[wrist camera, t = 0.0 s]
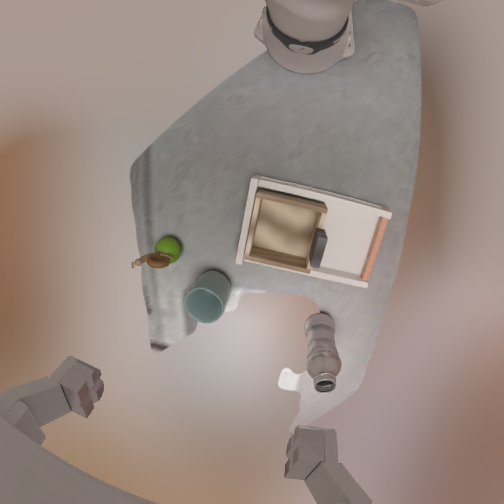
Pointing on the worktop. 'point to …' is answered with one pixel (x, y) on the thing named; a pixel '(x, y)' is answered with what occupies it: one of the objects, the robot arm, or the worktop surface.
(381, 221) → the white tray
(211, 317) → the cup
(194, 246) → the worktop surface
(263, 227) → the drawer
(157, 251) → the snail figurine
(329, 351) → the plastic bottle
